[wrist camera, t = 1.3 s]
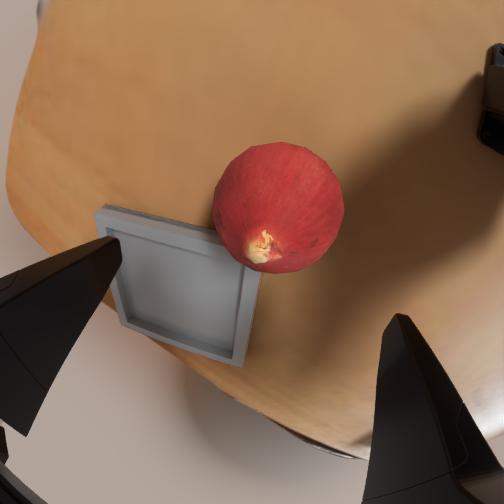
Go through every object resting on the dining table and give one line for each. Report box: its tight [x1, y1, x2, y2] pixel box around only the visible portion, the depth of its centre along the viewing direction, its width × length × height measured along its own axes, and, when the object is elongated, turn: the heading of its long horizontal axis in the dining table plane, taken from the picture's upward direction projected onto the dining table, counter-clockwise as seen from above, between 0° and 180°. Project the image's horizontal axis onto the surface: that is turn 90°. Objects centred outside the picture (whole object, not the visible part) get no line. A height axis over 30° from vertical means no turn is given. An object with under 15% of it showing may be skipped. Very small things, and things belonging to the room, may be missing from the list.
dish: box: [94, 204, 263, 368], centre depth 23 cm, size 13×13×2 cm
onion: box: [212, 142, 345, 274], centre depth 13 cm, size 6×6×8 cm
